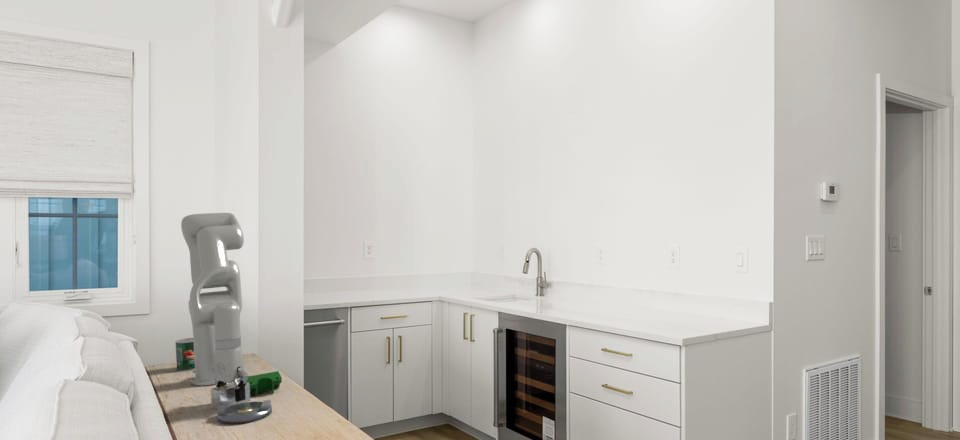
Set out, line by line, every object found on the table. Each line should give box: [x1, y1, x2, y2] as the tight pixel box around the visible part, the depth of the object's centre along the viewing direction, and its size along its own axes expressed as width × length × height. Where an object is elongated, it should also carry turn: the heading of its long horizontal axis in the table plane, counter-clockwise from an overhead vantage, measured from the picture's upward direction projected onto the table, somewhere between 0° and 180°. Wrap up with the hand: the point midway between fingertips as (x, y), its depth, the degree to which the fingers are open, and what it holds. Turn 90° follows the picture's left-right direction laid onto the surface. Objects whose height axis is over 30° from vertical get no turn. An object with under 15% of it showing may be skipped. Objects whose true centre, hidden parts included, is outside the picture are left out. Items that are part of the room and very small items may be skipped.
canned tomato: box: [175, 337, 195, 372], centre depth 238 cm, size 8×8×11 cm
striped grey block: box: [210, 381, 251, 410], centre depth 191 cm, size 5×10×6 cm, turn 143°
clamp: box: [247, 370, 283, 398], centre depth 202 cm, size 12×6×9 cm, turn 115°
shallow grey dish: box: [216, 399, 273, 425], centre depth 181 cm, size 15×15×3 cm
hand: (231, 398), depth 191 cm, fingers open, 9 cm apart
